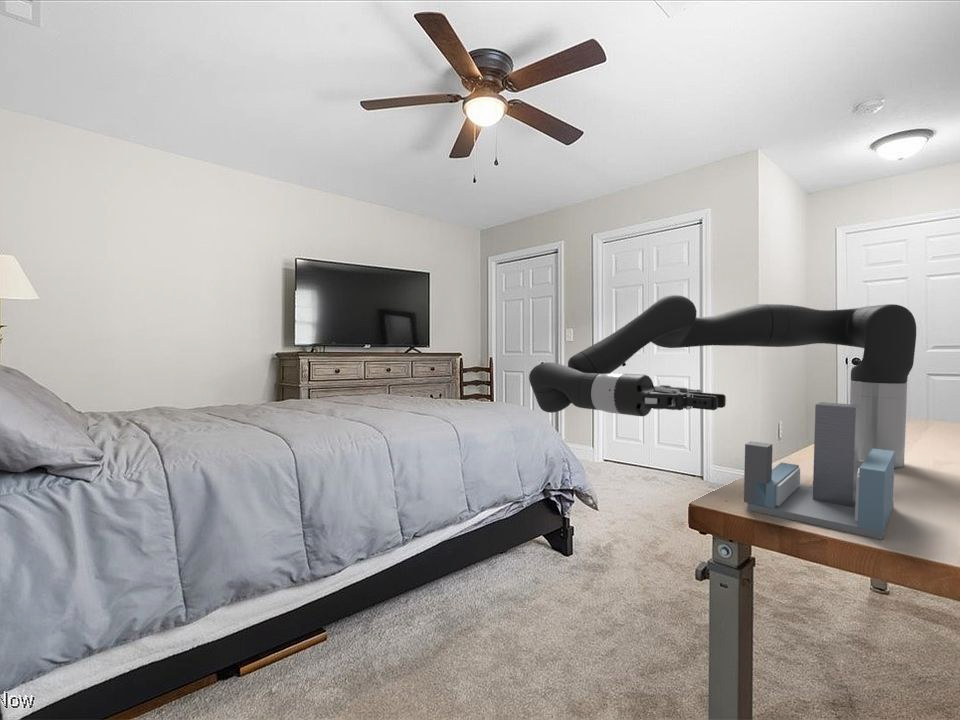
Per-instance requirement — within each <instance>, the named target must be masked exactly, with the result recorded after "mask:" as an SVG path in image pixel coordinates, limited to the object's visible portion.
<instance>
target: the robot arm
mask: <svg viewBox="0 0 960 720" xmlns="http://www.w3.org/2000/svg"><path fill="white" fill-rule="evenodd" d="M697 313H698V312H697V308H696V306H695V303H694V302H693V301H692V300H691V299H689V298H688V297H686V296H684V295H681V294H670V295H669V294H668V295H666V296H663V297H661V298H659V299H658V300H657V301H655V302H654V303H653V304H652V305H650V306H649V307H648V308H647V309H645V310H644V311H643V312H642V313H641V314H639V315H638V316H637V317H635V318H634V319H632V320H631V321H629V322H628V323H626V324H625V325H623V326H622V327H621V328H619V329H618V330H616V331H615V332H613V333H612V334H609V336H606V337H605V338H603V339H601V340H600V341H598V342H595V343H594V344H592V345H590V346H588V347H587V348H584V349H583V350H581V351H580V352H579V351H578V352H577V353H576V354H574V355H572V356H571V357H569V359H568V361H567V366H566V365H564V364H562V363H561V364H560V363H556V362H542V363H540V364H537V365H535V366H534V367H533V368H532V369H531V370H530V372H529V376H528V380H529V384H530V386H531V389H532V391H533V394H534V396H535V400H536V402H537V404H538V407H539V408H540V409H541V410H542V411H544V412H545V413H551V414H553V413H558V412H560V411H563V410H565V409H566V408H568V407H569V406H570V405H571V404H572V405H573V406H575V407H577V408H580V409H584V410H585V409H586V410H593V411H594V410H595V411H602V412H605V413H611V414H618V415H625V416H626V415H627V416H633V417H634V416H636V417H646V416H647V415H649V413H650V412H651V411H652V409H653V410H659V411H660V410H669V411H670V410H671V411H682V410H684V409H685V410H688V411H689V410H691V409H697V410H705V411H706V410H707V411H708V410H709V411H715V410H716V411H717V410H718V409H719V408H720V409H722V408H725V407H726V401H727V399H726V397H727V396H726V395H725V394H723V393H712V392H711V393H710V392H703V390H701V389H691V388H687V387H679V386H676V387H675V386H671V385H669V384H668V385H667V384H666V385H665V384H661V385H654V383H653V380H652V379H651V377H650V376H649V375H647V374H639V373H638V374H635V373H617V372H614V371H615V370H617V369H619V368H620V367H621V366H622V365H624V364H625V363H626V362H627V361H628V360H630V359H631V358H632V357H633V356H634V355H635V354H637V353H638V351H640V350H642V348H644V347H645V346H647V345H648V344H650V343H652V344H653V345H655V346H658V347H660V348H667V349H680V348H693V347H704V346H706V347H707V346H709V347H710V346H721V347H722V346H731V347H733V346H735V347H736V346H738V347H743V346H744V347H746V346H747V347H759V348H760V347H762V348H764V347H766V348H769V347H770V348H773V347H774V348H787V347H788V348H789V347H790V348H791V347H799V346H808V345H815V344H828V345H837V346H838V345H839V346H846V347H854V348H855V347H856V348H858V349H859V348H860V349H863V355H862V359H861V361H860V362H859V363H858V364H857V365H855V366H853V367H852V368H851V370H850V386H849V387H850V390H849V392H850V394H849V404H852V405H860V416H859V445H858V458H859V460H864V461H865V459H866V458H867V456H868V455H869V454H870V452H871V451H872V449H873V448H874V449H882V450H890V451H895V460H894V469H895V468H896V469H897V468H903V467H904V466H905V455H906V454H905V450H906V432H907V431H906V426H907V424H906V423H907V402H908V376H909V374H910V372H911V370H912V369H913V366H914V361H915V351H916V342H917V323H916V319H915V316H914V315H913V313H912V312H911V311H910V309H908V308H907V307H904V305H900V304H891V303H890V304H879V305H867V306H862V307H856V308H855V307H853V308H844V309H843V308H842V309H829V310H827V309H825V310H824V309H815V308H809V307H806V306H799V305H794V304H793V305H792V304H781V303H780V304H778V303H777V304H773V303H772V304H771V303H770V304H768V303H766V304H765V303H759V304H750V305H747V306H742V307H740V308H735V309H732V310H729V311H727V312H723V313H720V314H717V315H712V316H711V315H710V316H697Z"/></svg>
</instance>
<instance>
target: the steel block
mask: <svg viewBox="0 0 960 720" xmlns="http://www.w3.org/2000/svg"><path fill="white" fill-rule="evenodd" d="M814 406H815V407H814V409H815V412H814V440H813V442H814V443H813V445H814V446H813V447H814V448H813V475H812V476H813V478H812V487H813V500H817V501H822V502H827V503H832V504H838V505H843V506H848V507H853V506H854V504H855V503H856V477H857V475H858V474H859V468H858V445H859V416H860V405H852V404H850V403H838V402H835V403H834V402H824V401H820V402H817V403H815V405H814Z"/></svg>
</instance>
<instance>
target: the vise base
mask: <svg viewBox="0 0 960 720" xmlns="http://www.w3.org/2000/svg"><path fill="white" fill-rule="evenodd" d="M894 460H895V451H890V450H882V449H874V448H873V449H872V451H871V452H870V454H869V455H868V456H867V458H866V459H865V461H864V462H863V464H862V465H861V466H860V468H858V475H857V477H856V503H855V504H854V506H853V507H848V506H843V505H838V504H832V503H827V502H822V501H817V500H813V485H812V486H811V485H806V484H801V483H800V486H799V487H798V488H797V489H796V490H795V491H794V492H793V493H792V494H791V495H790V496H789V497H788V498H787V499H786V500H785V501H784V502H782V503H781V504H780V505H779V506H776V507H775V508H769V507H764V506H759V505H755V504H750V503H746V504H747V506H746V508H747V511H752V512H755V513H761V514H763V515H764V514H765V515H769V516H774V517H779V518H784V519H787V520H791V521H792V520H793V521H797V522H801V523H805V524H810V525H815V526H819V527H822V528H827V529H833V530H837V531H842V532H846V533H850V534H854V535H860V536H863V537H868V538H872V539H877V540H881V541H883V539H884V537H885V533H886V530H887V527H888V525H889V522H890V519H891V515H892V512H893V509H894V487H895V485H894V482H895V481H894V480H895V468H894Z"/></svg>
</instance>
